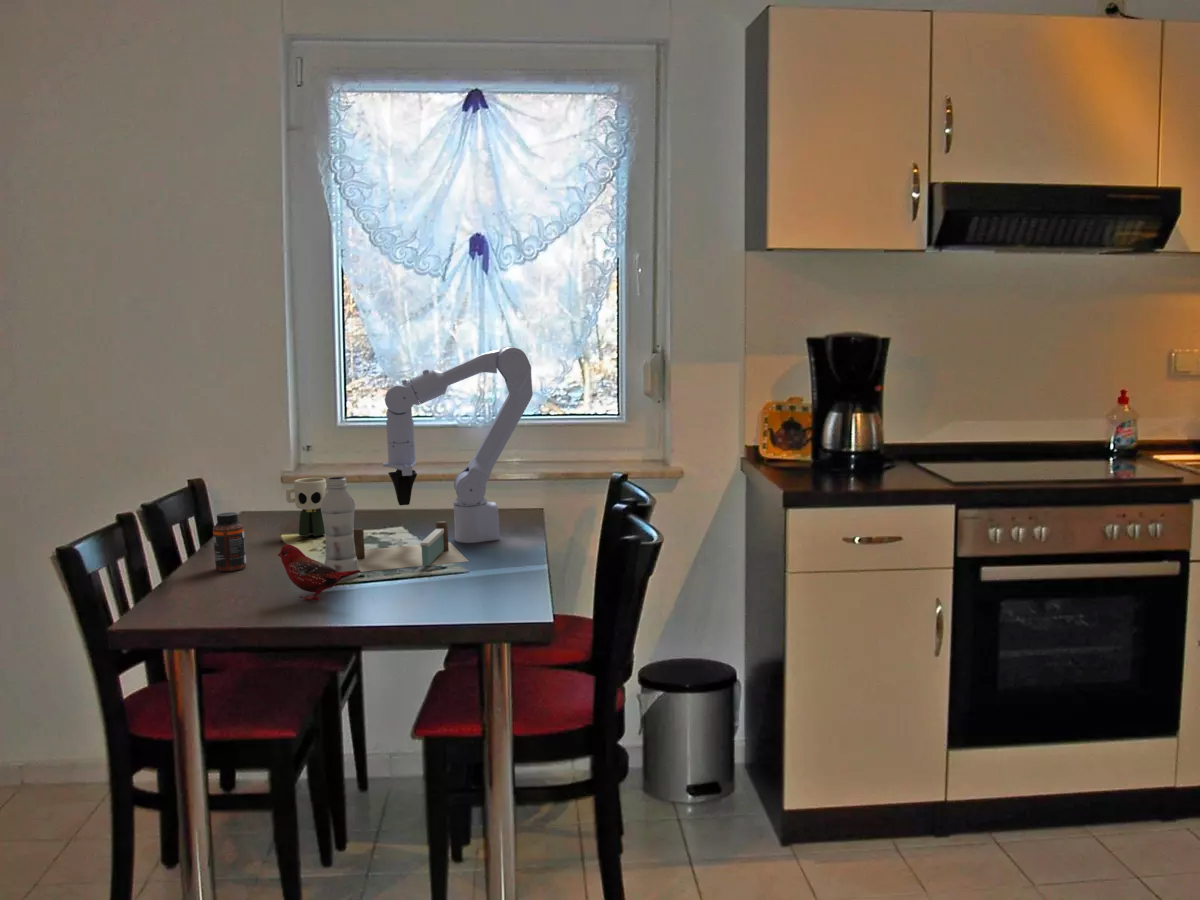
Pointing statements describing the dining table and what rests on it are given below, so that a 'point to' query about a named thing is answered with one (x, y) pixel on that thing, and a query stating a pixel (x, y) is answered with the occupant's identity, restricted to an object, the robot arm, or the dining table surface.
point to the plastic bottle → (339, 527)
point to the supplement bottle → (229, 543)
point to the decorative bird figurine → (309, 572)
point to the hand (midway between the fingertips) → (404, 504)
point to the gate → (432, 546)
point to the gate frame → (402, 553)
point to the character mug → (309, 504)
